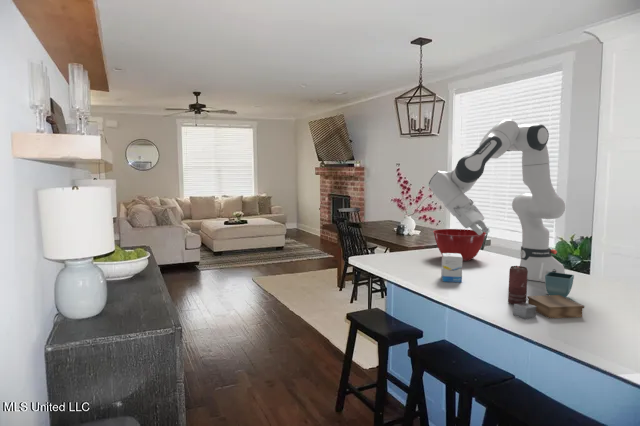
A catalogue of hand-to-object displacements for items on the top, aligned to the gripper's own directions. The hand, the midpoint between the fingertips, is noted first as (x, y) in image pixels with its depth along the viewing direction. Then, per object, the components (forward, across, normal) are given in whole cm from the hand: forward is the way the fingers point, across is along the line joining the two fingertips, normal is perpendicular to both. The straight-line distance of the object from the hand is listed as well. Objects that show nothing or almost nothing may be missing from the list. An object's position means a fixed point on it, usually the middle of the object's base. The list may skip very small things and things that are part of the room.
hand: (484, 232), depth 162 cm
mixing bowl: (-2, +70, +38) cm, 80 cm away
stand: (+36, -2, 0) cm, 36 cm away
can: (+27, 0, +9) cm, 29 cm away
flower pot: (+36, +18, 0) cm, 40 cm away
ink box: (+6, +22, +31) cm, 38 cm away
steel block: (+31, -13, +6) cm, 34 cm away
